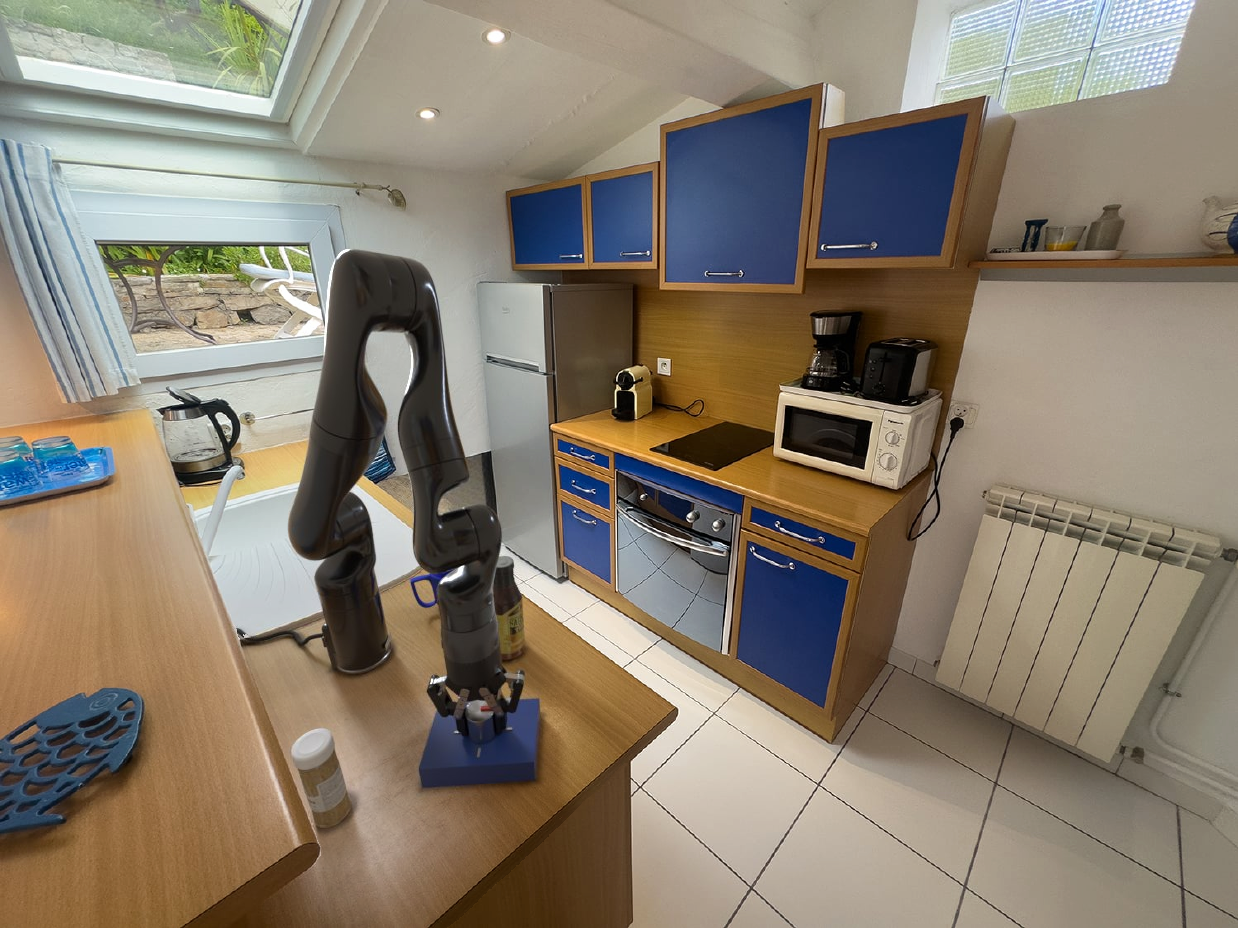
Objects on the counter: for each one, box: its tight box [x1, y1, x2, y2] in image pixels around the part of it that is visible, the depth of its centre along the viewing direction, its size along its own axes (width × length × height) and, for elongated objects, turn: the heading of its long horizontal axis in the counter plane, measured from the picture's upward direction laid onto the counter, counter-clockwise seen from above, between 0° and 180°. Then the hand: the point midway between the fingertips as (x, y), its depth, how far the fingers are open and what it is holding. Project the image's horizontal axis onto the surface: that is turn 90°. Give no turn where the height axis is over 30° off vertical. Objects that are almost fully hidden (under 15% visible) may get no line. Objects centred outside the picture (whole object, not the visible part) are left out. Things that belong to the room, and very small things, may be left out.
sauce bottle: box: [493, 555, 526, 661], centre depth 91 cm, size 6×6×20 cm
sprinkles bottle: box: [290, 727, 352, 829], centre depth 64 cm, size 5×5×14 cm
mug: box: [409, 569, 455, 609], centre depth 104 cm, size 8×12×10 cm
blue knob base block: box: [418, 697, 541, 789], centre depth 75 cm, size 16×11×4 cm
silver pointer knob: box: [465, 700, 497, 744], centre depth 73 cm, size 4×4×5 cm
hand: (482, 729), depth 74 cm, fingers closed on silver pointer knob, 4 cm apart
